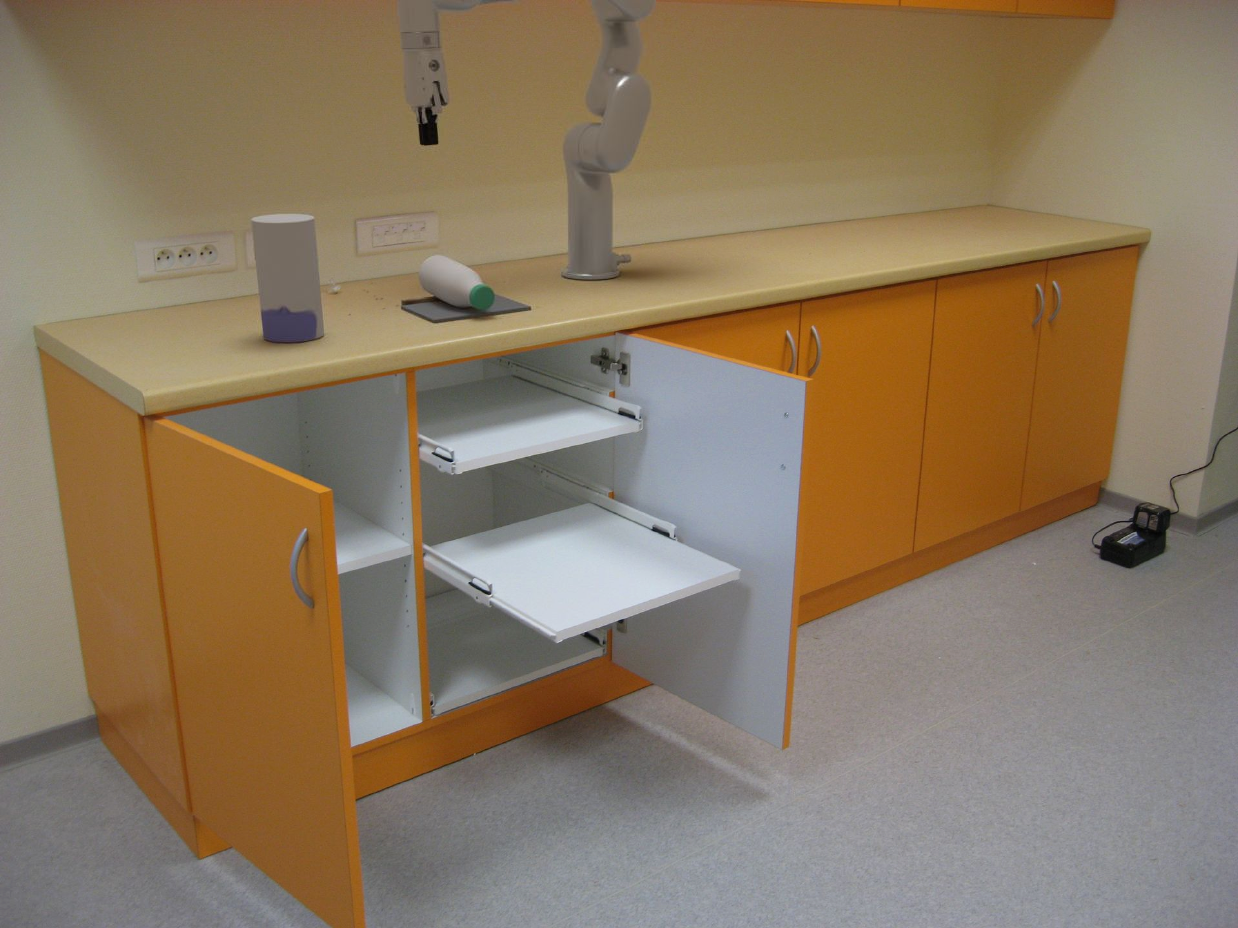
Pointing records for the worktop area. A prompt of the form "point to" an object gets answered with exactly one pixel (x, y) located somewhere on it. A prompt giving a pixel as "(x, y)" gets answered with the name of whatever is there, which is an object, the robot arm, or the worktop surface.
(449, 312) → the mat
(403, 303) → the rail
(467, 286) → the milk bottle
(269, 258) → the container
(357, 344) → the worktop surface
